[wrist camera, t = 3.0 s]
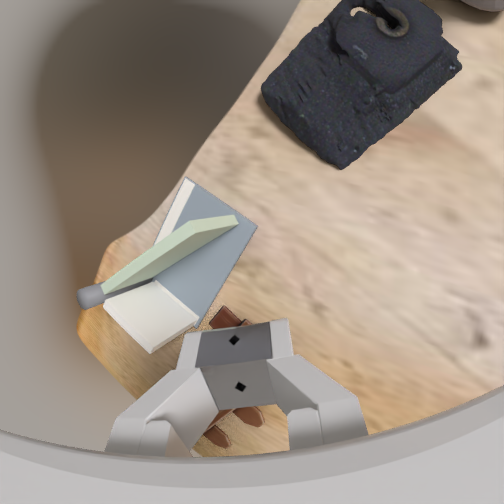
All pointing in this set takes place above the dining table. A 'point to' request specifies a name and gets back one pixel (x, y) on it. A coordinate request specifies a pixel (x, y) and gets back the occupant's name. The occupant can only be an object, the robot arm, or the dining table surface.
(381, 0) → the dark slate chunk
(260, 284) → the dining table surface
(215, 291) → the card
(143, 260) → the green wall panel
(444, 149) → the dining table surface
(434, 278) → the dining table surface
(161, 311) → the fence post and white panel
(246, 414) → the decorative fence
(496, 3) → the coffee pot
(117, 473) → the robot arm
